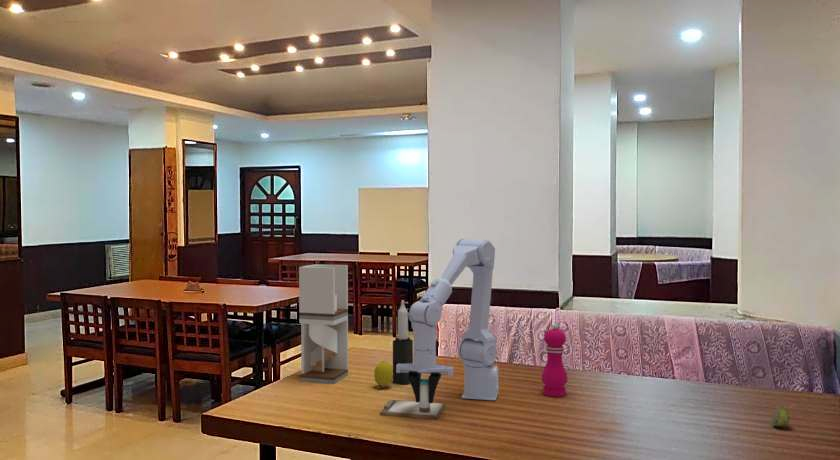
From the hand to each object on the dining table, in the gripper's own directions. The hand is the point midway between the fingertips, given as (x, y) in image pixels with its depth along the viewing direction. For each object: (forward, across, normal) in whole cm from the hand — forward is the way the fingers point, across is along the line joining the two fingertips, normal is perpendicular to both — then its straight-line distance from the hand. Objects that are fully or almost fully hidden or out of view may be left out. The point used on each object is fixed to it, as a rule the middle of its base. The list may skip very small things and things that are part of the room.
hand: (424, 401), depth 158 cm
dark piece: (+3, -13, +28) cm, 31 cm away
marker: (+2, 0, 0) cm, 2 cm away
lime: (+3, +85, +10) cm, 86 cm away
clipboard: (+3, -4, +2) cm, 5 cm away
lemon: (+3, -17, +21) cm, 27 cm away
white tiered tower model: (+3, -38, +27) cm, 47 cm away
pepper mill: (+3, +32, +26) cm, 41 cm away
